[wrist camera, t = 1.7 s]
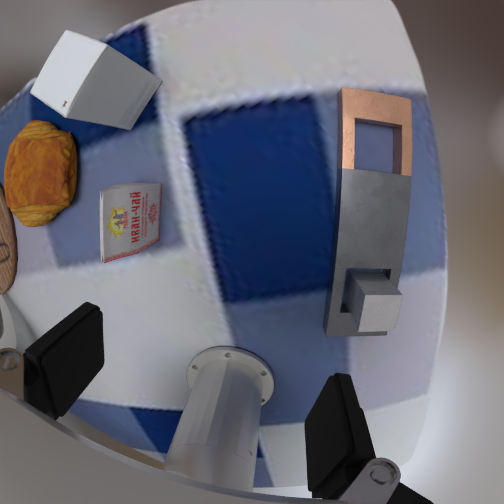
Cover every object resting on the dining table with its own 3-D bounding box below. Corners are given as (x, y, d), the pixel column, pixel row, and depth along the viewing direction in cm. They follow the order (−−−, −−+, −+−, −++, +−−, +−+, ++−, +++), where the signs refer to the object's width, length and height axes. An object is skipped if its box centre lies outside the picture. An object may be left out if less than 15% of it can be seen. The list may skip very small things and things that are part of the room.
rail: (380, 325, 34) (386, 335, 32) (323, 325, 35) (325, 336, 32) (401, 103, 26) (410, 99, 24) (337, 93, 27) (342, 87, 24)
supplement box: (164, 81, 28) (109, 44, 16) (130, 132, 30) (63, 120, 18) (124, 60, 27) (65, 27, 15) (94, 107, 29) (27, 93, 17)
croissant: (29, 210, 37) (-4, 227, 29) (30, 119, 30) (-8, 125, 23) (86, 227, 36) (50, 249, 29) (91, 118, 29) (49, 121, 22)
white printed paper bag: (133, 236, 34) (87, 260, 24) (134, 182, 32) (85, 189, 22) (159, 239, 33) (118, 266, 24) (161, 183, 32) (118, 191, 22)
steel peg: (372, 298, 33) (394, 330, 25) (342, 297, 33) (358, 331, 26) (377, 267, 32) (402, 295, 24) (346, 266, 32) (365, 295, 25)
